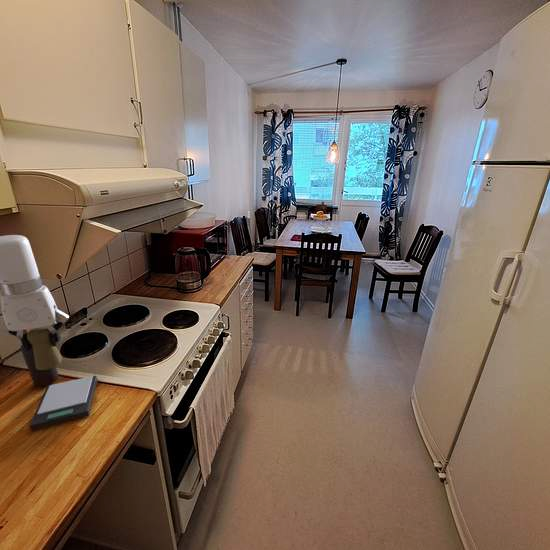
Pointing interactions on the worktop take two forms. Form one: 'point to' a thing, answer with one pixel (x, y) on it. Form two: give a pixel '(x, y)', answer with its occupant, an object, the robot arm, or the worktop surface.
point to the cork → (43, 349)
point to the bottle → (38, 376)
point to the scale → (64, 402)
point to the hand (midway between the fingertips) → (43, 345)
